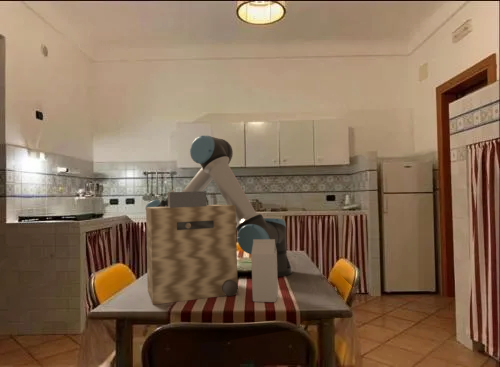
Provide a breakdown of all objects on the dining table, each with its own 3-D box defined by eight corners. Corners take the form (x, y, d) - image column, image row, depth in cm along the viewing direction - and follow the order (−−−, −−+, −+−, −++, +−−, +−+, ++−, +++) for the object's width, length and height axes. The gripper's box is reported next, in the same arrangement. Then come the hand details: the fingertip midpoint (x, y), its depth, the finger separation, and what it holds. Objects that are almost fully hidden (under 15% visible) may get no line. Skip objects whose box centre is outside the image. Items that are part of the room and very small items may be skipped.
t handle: (189, 204, 150) (188, 192, 150) (206, 206, 123) (206, 191, 123) (159, 206, 146) (158, 193, 146) (170, 207, 118) (169, 192, 119)
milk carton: (275, 302, 113) (273, 240, 114) (252, 302, 115) (250, 240, 115) (278, 296, 120) (276, 238, 121) (256, 295, 122) (255, 238, 122)
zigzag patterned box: (222, 282, 142) (220, 204, 143) (239, 295, 123) (237, 205, 124) (147, 291, 132) (146, 207, 133) (153, 306, 113) (151, 208, 114)
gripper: (191, 227, 158) (201, 200, 140) (151, 230, 153) (156, 202, 134) (189, 212, 162) (198, 184, 144) (150, 214, 156) (155, 184, 138)
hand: (178, 192), depth 139 cm, fingers closed on t handle, 3 cm apart
